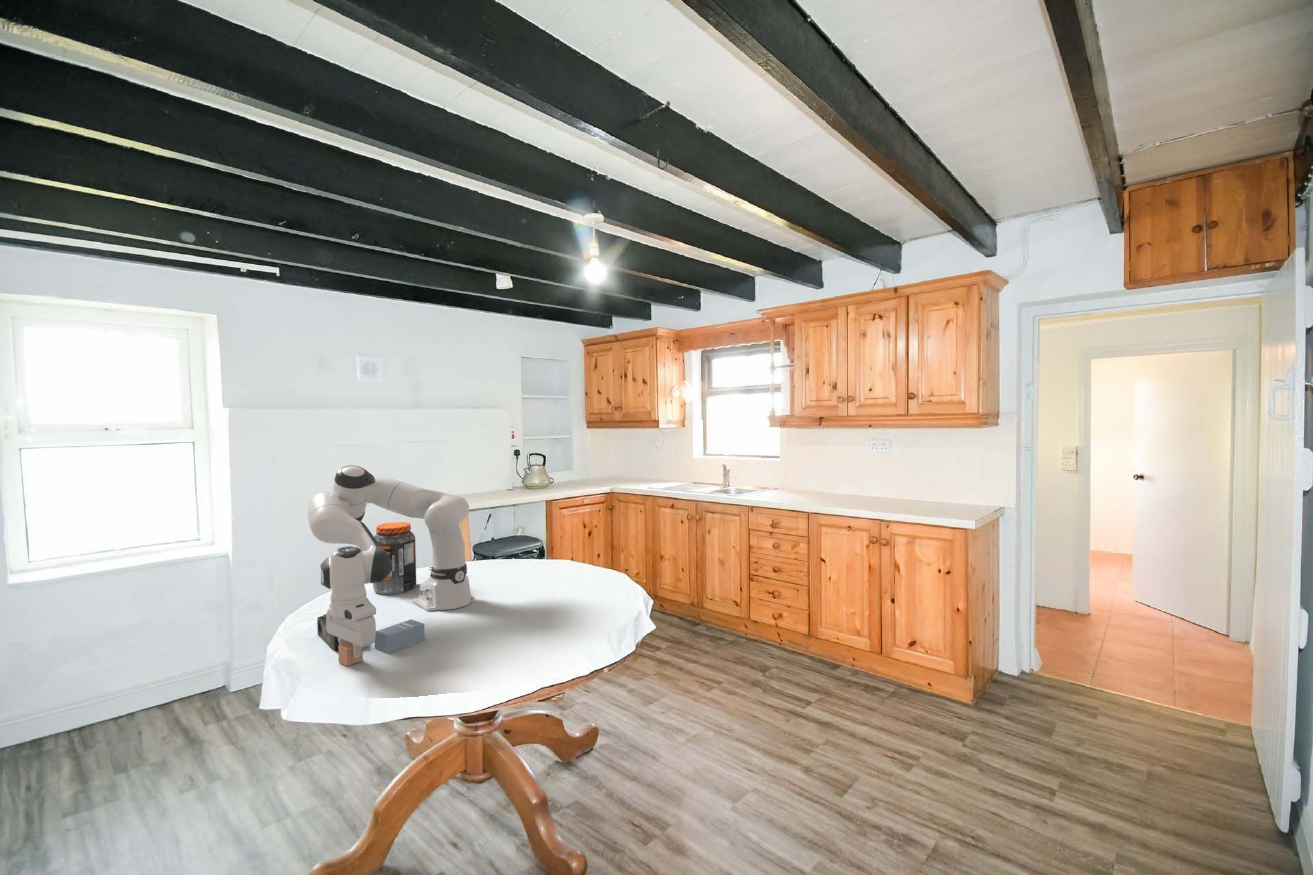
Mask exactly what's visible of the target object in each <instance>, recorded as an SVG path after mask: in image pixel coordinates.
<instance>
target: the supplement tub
mask: <svg viewBox="0 0 1313 875" xmlns="http://www.w3.org/2000/svg"><path fill="white" fill-rule="evenodd" d="M375 528H376V529H375V532H376V534H375V535H373V536H374V538H375V539H376V540H377V542H378V543H379V545H380V546H381V547H382V548H383V549H384V550H385V551H386V552H387V553H388V554H389V556H390V559H391V564H392V569H391V573H390V574H389V576H388V577H387V578H386V579H385V580H384V581H383V582H381V583H372V589H373V591H374V592H375V593H377V594H382V595H383V594H384V595H396V594H402V593H404V592H408V591H411V590H412V589H414V588H415V587H416V585H417V564H416V563H417V555H416V554H417V550H416V536H415V534H414V532H412V530H411V529H412V527H411V523H410V522H406V521H405V522H404V521H399V522H398V521H397V522H387V523H382V524H378V525H377V526H376V527H375Z"/></svg>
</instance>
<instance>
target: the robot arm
mask: <svg viewBox="0 0 1313 875" xmlns="http://www.w3.org/2000/svg"><path fill="white" fill-rule="evenodd" d="M333 481H334V483H333V486H332V491H331V492H329V491H328V492H326V491H324V492H320V493H318V494H316V495H314V496H313V497H312V498H311V499H310V501H309V503H308V509H307V514H308V515H307V519H308V524H309V528H310V531H311V533H312V535H313V536H314V537H315V538H316V539H317V540H318V541H320V542H323V543H325V544H333V545H334V544H337V545H338V544H342V545H343V544H344V545H349V546H343V547H338V548H336V549H334V550H333V551H332V552H331V556H328V557H327V558H324V560H323V561H322V562H321V564H320V565H319V566H320V585H322V586H324V587H325V588H327V589H328V590H331V594H330V603H329V608H328V609H327V612H326V614H327V617H326V630H327V632H328V633H329V634H331V635H334V636H336V637H338V642H339V644H340V645H341V644H344V643H347V641H348V642H351V643H353V646H354V649H353V651H351V654H352V657H354V658H358V657H360V655H361V651H360V650H361V648H362V649H363V648H365V647H368V646H371V645H373V644H375V643H374V641H375V638H376V631H377V629H376V624H377V623H376V618H375V615H376V614H377V608H376V606H374V604H373V603H372V602H371V601H370V600H369V598H368V597H367V590H366V588H365V585H367V584H373V583H381V582H383V581H384V580H385V579H386V578H387V577H388V576H389V574H390V573H391V569H392V564H391V559H390V556H389V554H388V553H387V552H386V551H385V550H384V549H383V548H382V547H381V546H380V545H379V543H378V542H377V540H376V539H375V538H374V536H375V535H373V533H372V532H371V530H370V529H369V528H368V526H367V525H366V524H365V522H363V519H364V517H365V513H366V507H367V505H368V504H372V505H373V504H374V505H375V506H377V507H379V508H382V509H384V510H386V511H389V512H392V513H396V514H399V515H402V516H405V517H409V518H413V519H414V518H416V519H422V520H424V523H425V525H426V527H427V528H428V531H429V537H430V541H431V546H432V566H430V567H429V571H430V575H429V577H428V578H427V579H426V580H425V581H423V583H422V584H420V586H419V590H418V596H416V597H414V598H413V599H412V600H411V602H412V603H413V604H414V605H416V606H418V607H420V608H421V609H423V610H425V611H427V612H434V611H444V610H445V611H447V610H453V609H458V608H463V607H465V606H467V605H469V604H470V603H471V602H472V599H473V597H474V595H473V593H471V587H470V580H469V579H470V578H469V576H468V575H467V574H468V567H467V563H466V543H465V540H464V538H463V536H462V530H461V523H462V522H464V521H465V520H466V519H467V517H468V514H469V511H470V504H469V502H468V501H467V500H466V498H464V497H463V496H461V495H454V494H450V493H446V492H442V491H438V490H432V489H427V488H423V487H419V486H417V485H413V484H410V483H407V482H404V481H401V480H397V479H394V478H389V477H382V476H374V475H373V474H372V473H370V472H369V471H368V470H367V469H366V468H363V467H362V466H359V465H346V466H343V467H340V468H339V469H338V470H337V472H336V474H335V476H334V480H333ZM351 545H352V546H351ZM353 545H354V546H353ZM356 546H357V547H356Z"/></svg>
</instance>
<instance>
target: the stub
mask: <svg viewBox="0 0 1313 875" xmlns="http://www.w3.org/2000/svg"><path fill="white" fill-rule="evenodd" d="M353 649H354V646H353V643H351V642H347V643H344V644H341V645H338V651H337V652H338V663H339V664H342V665H344V666H346V667H349V666H351V665H354V664H357V663H359V662H362V661H364V657H363V652H364V651H363V647H362V648H361V650H360V651H361V655H360V657H358V658H354V657H352V654H351V651H353Z"/></svg>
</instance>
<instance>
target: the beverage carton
mask: <svg viewBox="0 0 1313 875" xmlns="http://www.w3.org/2000/svg"><path fill="white" fill-rule="evenodd" d="M326 617H327V613H326V614H322V615H321V616H318V617H317V619H316V621H317V625H316V626H317V630H316V631H317V635H318V637H319V638H321V639H322V640H323V641H324V642H325V643H326V644H327V646H329V647H330V648H331V649H332V651H335V652H338V645H340V644H339V642H338V637H336V636H334V635H331V634H329V633H328V632H327V630H326ZM347 642H348V641H347Z"/></svg>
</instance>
